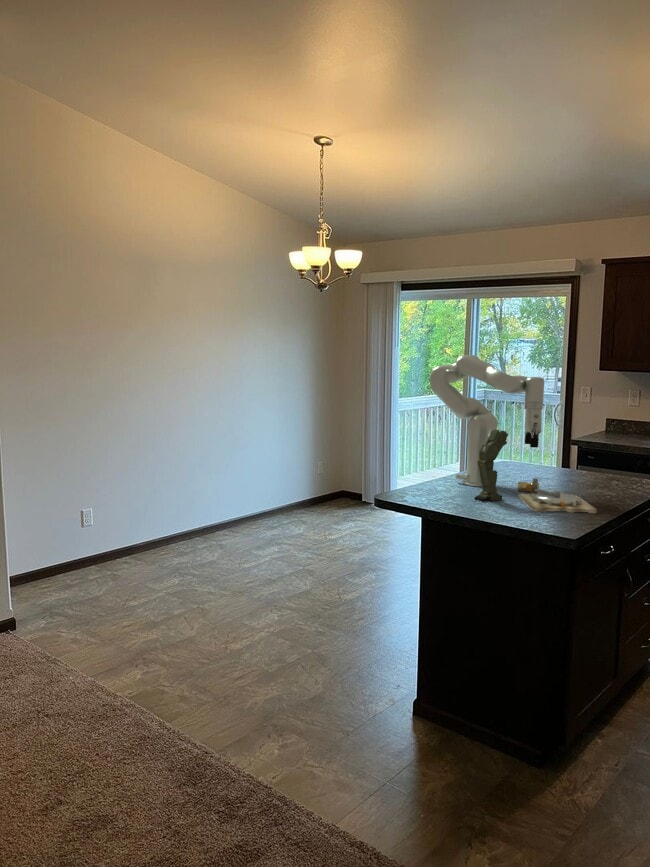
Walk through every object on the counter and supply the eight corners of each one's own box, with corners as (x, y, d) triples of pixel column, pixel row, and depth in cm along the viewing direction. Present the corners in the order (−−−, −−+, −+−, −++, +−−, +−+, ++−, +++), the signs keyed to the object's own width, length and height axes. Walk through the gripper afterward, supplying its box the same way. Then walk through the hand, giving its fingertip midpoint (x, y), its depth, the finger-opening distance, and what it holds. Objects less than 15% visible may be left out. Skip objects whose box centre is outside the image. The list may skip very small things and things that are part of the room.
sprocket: (574, 508, 258) (576, 491, 257) (520, 500, 270) (521, 484, 269) (586, 499, 274) (588, 483, 273) (534, 492, 286) (535, 477, 285)
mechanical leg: (476, 501, 271) (494, 427, 270) (465, 497, 277) (482, 425, 277) (502, 506, 277) (519, 434, 277) (490, 502, 284) (507, 432, 283)
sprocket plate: (533, 511, 260) (533, 506, 260) (518, 497, 284) (518, 493, 284) (596, 513, 259) (597, 508, 259) (576, 499, 283) (577, 495, 283)
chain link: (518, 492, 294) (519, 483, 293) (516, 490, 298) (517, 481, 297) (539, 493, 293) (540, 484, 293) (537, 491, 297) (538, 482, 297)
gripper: (548, 408, 282) (545, 448, 284) (537, 404, 299) (534, 443, 301) (529, 407, 282) (527, 448, 285) (519, 404, 299) (517, 442, 302)
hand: (531, 445), depth 293 cm, fingers open, 9 cm apart
